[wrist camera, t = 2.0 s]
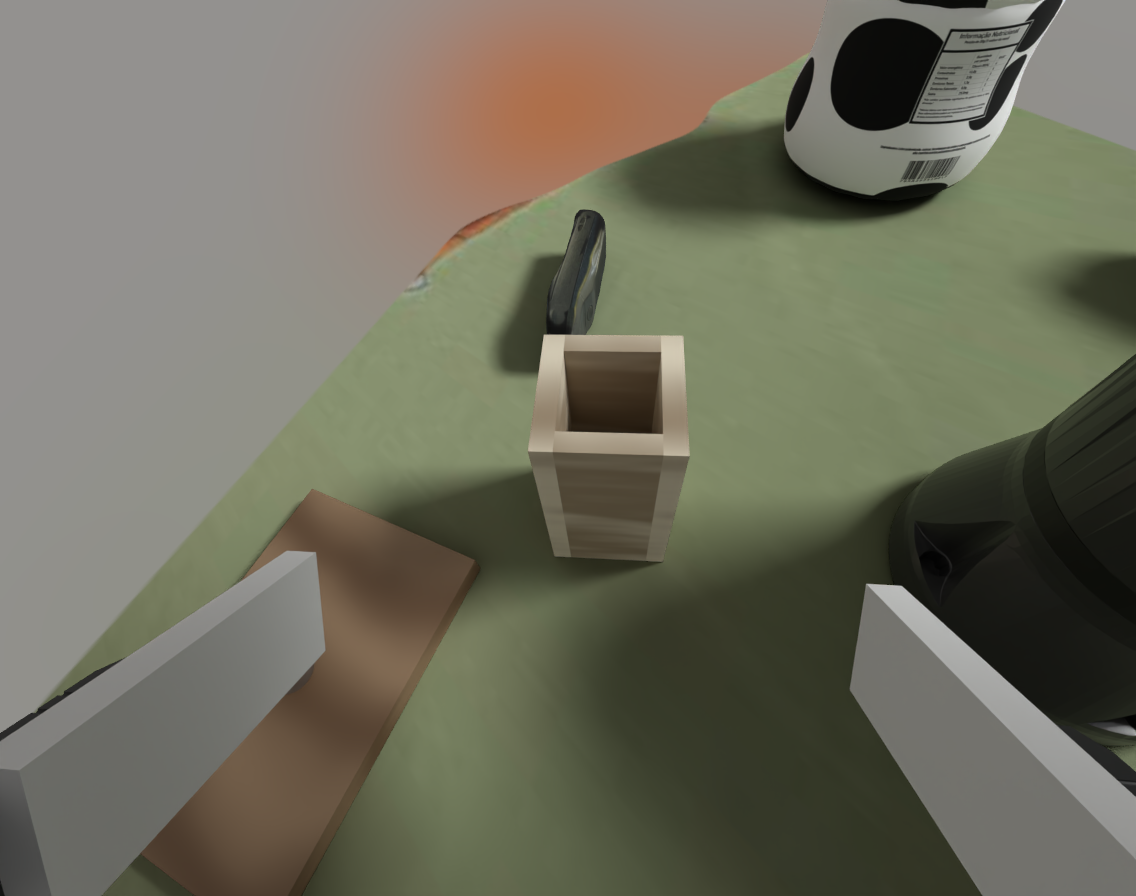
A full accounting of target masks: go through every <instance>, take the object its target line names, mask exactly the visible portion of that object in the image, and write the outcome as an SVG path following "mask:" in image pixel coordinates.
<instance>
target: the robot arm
mask: <svg viewBox="0 0 1136 896" xmlns="http://www.w3.org/2000/svg"><path fill="white" fill-rule="evenodd" d="M889 559H890V567H891V572H892V577H893V580H894V584H895V585H878V584H866V588H865V595H864V601H863V608H862V614H861V620H860V627H859V633H858V639H857V646H856V652H855V659H854V665H853V671H852V678H851V684H850V691H851V692H852V694H853V696H854V697H855V699H856V700H857V702H858V703H859V705H860V706H861V708H862V710H863V711H864V713H865V714H866V716H867V717H868V719H869V720H870V722H871V723H872V725H873V727H874V728H875V730H876V731H877V733H878V734H879V736H880V737H881V739H882V741H883V742H884V744H885V745H886V747H887V748H888V750H889V751H890V753H891V755H892V756H893V758H894V759H895V761H896V762H897V764H898V765H899V767H900V769H901V770H902V772H903V773H904V775H905V776H906V778H907V779H908V781H909V782H910V784H911V786H912V787H913V789H914V790H915V792H916V793H917V795H918V796H919V798H920V800H921V801H922V803H923V804H924V806H925V807H926V809H927V810H928V812H929V814H930V815H931V817H932V818H933V820H934V821H935V823H936V824H937V826H938V827H939V829H940V831H941V832H942V834H943V835H944V837H945V838H946V840H947V841H948V843H949V845H950V846H951V848H952V849H953V851H954V852H955V854H956V855H957V857H958V859H959V860H960V862H961V863H962V865H963V866H964V868H965V869H966V871H967V873H968V874H969V876H970V877H971V879H972V880H973V882H974V883H975V885H976V886H977V888H978V890H979V891H980V893H981V894H982V896H1136V772H1135V771H1134V770H1133V769H1132V768H1131V767H1130V766H1128V765H1127V764H1126V763H1125V762H1124V761H1122V760H1121V759H1120V758H1119V757H1118V756H1117V755H1115V754H1114V753H1113V752H1112V751H1110V750H1108V749H1107V748H1105V747H1103V746H1102V745H1106V746H1130V745H1136V354H1135V355H1134V356H1133V357H1131V358H1130V359H1129V360H1128V361H1126V362H1125V363H1124V364H1123V365H1121V366H1120V367H1119V368H1118V369H1116V370H1115V371H1114V372H1113V373H1111V374H1110V375H1109V376H1108V377H1106V378H1105V379H1104V380H1102V381H1101V382H1100V383H1099V384H1097V385H1096V386H1095V387H1093V388H1092V389H1091V390H1090V391H1088V392H1087V393H1086V394H1085V395H1083V396H1082V397H1081V398H1079V399H1078V400H1077V401H1076V402H1074V403H1073V404H1072V405H1070V406H1069V407H1068V408H1067V409H1066V410H1065V411H1063V412H1062V413H1061V414H1060V415H1058V416H1057V417H1056V418H1055V419H1053V420H1052V421H1051V422H1050V423H1048V424H1047V425H1046V426H1044V427H1043V428H1041V429H1038V430H1035V431H1032V432H1029V433H1026V434H1023V435H1020V436H1017V437H1014V438H1011V439H1008V440H1005V441H1002V442H999V443H996V444H993V445H990V446H987V447H984V448H981V449H978V450H975V451H972V452H969V453H966V454H964V455H961V456H959V457H956V458H954V459H952V460H950V461H948V462H947V463H945V464H943V465H942V466H940V467H939V468H937V469H936V470H934V471H933V472H932V473H931V474H930V475H928V476H927V477H926V478H925V479H924V480H923V481H922V482H921V483H920V484H919V485H918V486H917V487H916V488H915V489H913V490H912V491H911V492H910V493H909V494H908V496H907V497H906V498H905V499H904V501H903V502H902V504H901V505H900V507H899V509H898V511H897V513H896V515H895V518H894V520H893V524H892V527H891V532H890V539H889ZM325 651H326V650H325V640H324V629H323V619H322V609H321V598H320V588H319V578H318V567H317V557H316V552H302V551H286V552H284V553H283V554H281V555H280V556H278V557H277V558H275V559H274V560H272V561H271V562H269V563H268V564H266V565H265V566H263V567H262V568H260V569H259V570H257V571H256V572H254V573H253V574H251V575H250V576H248V577H247V578H245V579H244V580H242V581H241V582H239V583H238V584H236V585H234V586H233V587H231V588H230V589H228V590H227V591H225V592H224V593H222V594H221V595H219V596H218V597H216V598H215V599H213V600H212V601H210V602H209V603H207V604H206V605H204V606H203V607H201V608H200V609H198V610H197V611H195V612H194V613H192V614H191V615H189V616H188V617H186V618H185V619H183V620H182V621H180V622H179V623H177V624H176V625H174V626H173V627H171V628H170V629H168V630H167V631H165V632H164V633H162V634H161V635H159V636H158V637H156V638H155V639H153V640H152V641H150V642H149V643H147V644H146V645H144V646H143V647H141V648H140V649H138V650H137V651H135V652H134V653H132V654H131V655H129V656H128V657H126V658H123V659H121V660H119V661H117V662H115V663H112V664H110V665H108V666H106V667H104V668H101V669H99V670H97V671H95V672H93V673H92V674H90V675H89V676H87V677H86V678H84V679H83V680H81V681H79V682H78V683H76V684H75V685H73V686H72V687H70V688H69V689H67V690H66V691H64V694H63V695H62V696H56V697H55V698H53V699H52V700H50V701H49V702H47V703H46V704H44V705H43V706H41V707H40V708H38V711H37V712H36V713H31V714H29V715H27V716H26V717H24V718H23V719H21V720H20V721H18V722H17V723H15V724H14V725H12V726H10V727H9V728H7V729H6V730H4V731H3V732H1V733H0V896H102V895H103V894H104V892H105V891H106V890H107V889H108V888H109V887H110V886H111V885H112V884H113V883H114V882H115V880H116V879H117V878H118V877H119V876H120V875H121V874H122V873H123V872H124V871H125V869H126V868H127V867H128V866H129V865H130V864H131V863H132V862H133V861H134V860H135V859H136V857H137V856H138V855H139V854H140V853H141V852H142V851H143V850H144V849H145V848H146V846H147V845H148V844H149V843H150V842H151V841H152V840H153V839H154V838H155V837H156V836H157V834H158V833H159V832H160V831H161V830H162V829H163V828H164V827H165V826H166V825H167V824H168V822H169V821H170V820H171V819H172V818H173V817H174V816H175V815H176V814H177V813H178V811H179V810H180V809H181V808H182V807H183V806H184V805H185V804H186V803H187V802H188V801H189V799H190V798H191V797H192V796H193V795H194V794H195V793H196V792H197V791H198V790H199V789H200V787H201V786H202V785H203V784H204V783H205V782H206V781H207V780H208V779H209V778H210V776H211V775H212V774H213V773H214V772H215V771H216V770H217V769H218V768H219V767H220V766H221V764H222V763H223V762H224V761H225V760H226V759H227V758H228V757H229V756H230V755H231V753H232V752H233V751H234V750H235V749H236V748H237V747H238V746H239V745H240V744H241V743H242V741H243V740H244V739H245V738H246V737H247V736H248V735H249V734H250V733H251V732H252V731H253V729H254V728H255V727H256V726H257V725H258V724H259V723H260V722H261V721H262V720H263V718H264V717H265V716H266V715H267V714H268V713H269V712H270V711H271V710H272V709H273V708H274V706H275V705H276V704H277V703H278V702H279V701H280V700H281V699H282V698H283V697H284V696H285V694H286V693H287V692H288V691H289V690H290V689H291V688H292V687H293V686H294V685H295V683H296V682H297V681H298V680H299V679H300V678H301V677H302V676H303V675H304V674H305V673H306V671H307V670H308V669H309V668H310V667H311V666H312V665H313V664H314V663H315V662H316V660H317V659H318V658H319V657H320V656H321V655H322V654H323V653H324V652H325Z"/></svg>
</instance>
